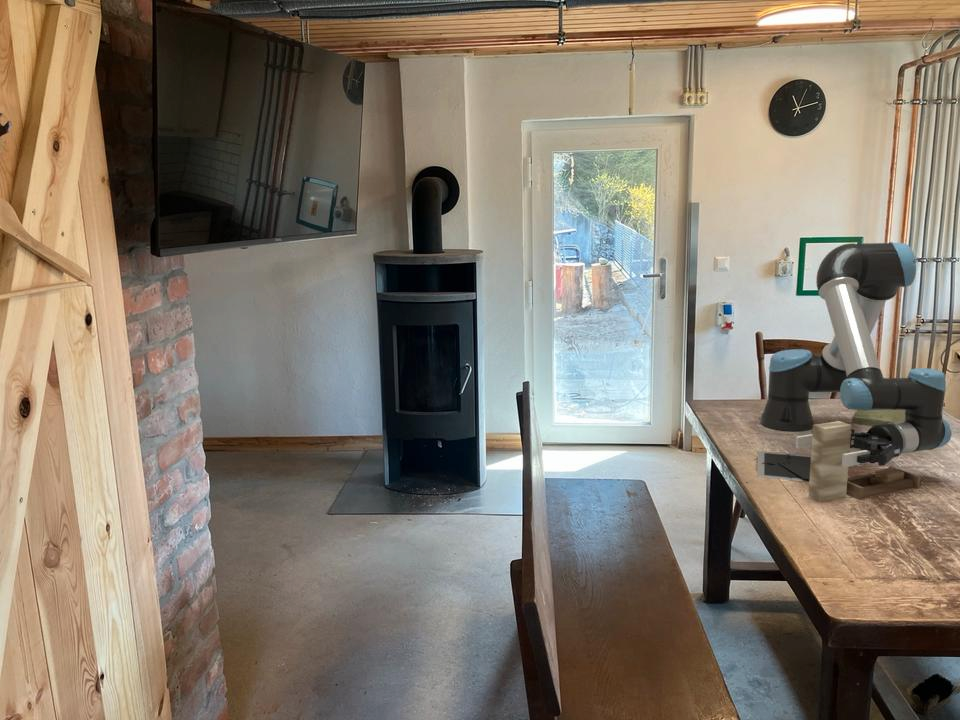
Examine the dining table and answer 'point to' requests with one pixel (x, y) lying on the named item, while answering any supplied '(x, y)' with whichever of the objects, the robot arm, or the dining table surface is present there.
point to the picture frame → (783, 466)
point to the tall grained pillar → (829, 461)
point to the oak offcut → (889, 475)
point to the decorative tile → (877, 417)
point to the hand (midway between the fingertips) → (819, 451)
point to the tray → (880, 485)
